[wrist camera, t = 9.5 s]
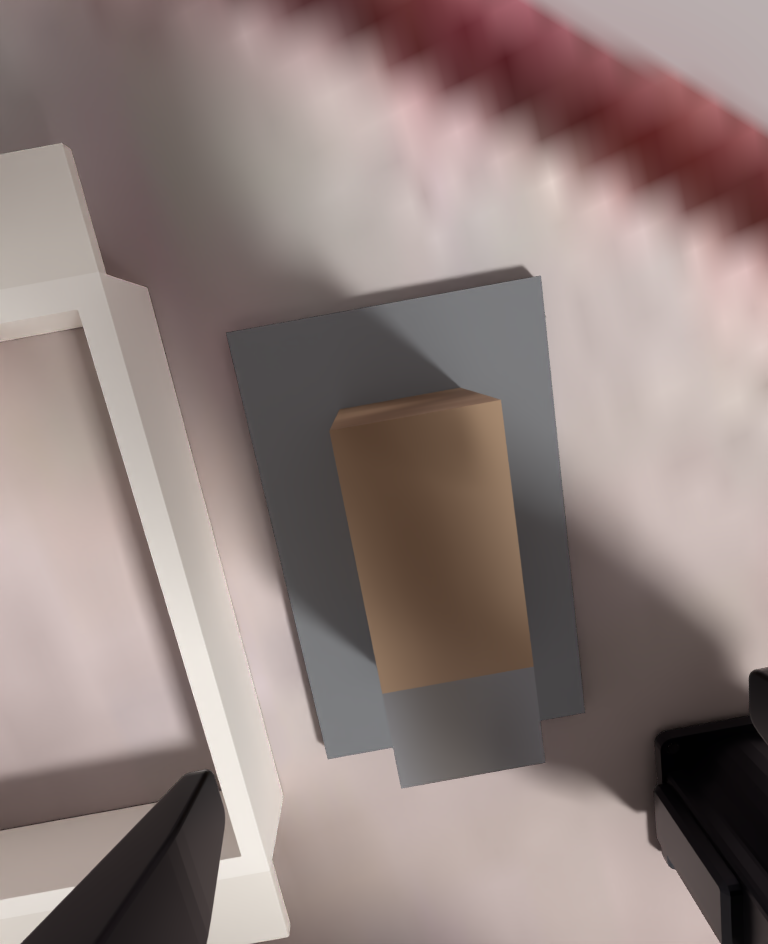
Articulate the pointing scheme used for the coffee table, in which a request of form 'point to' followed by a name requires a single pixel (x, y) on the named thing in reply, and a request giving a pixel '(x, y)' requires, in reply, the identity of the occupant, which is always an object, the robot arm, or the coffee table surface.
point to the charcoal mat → (319, 492)
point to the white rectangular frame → (172, 549)
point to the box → (441, 581)
